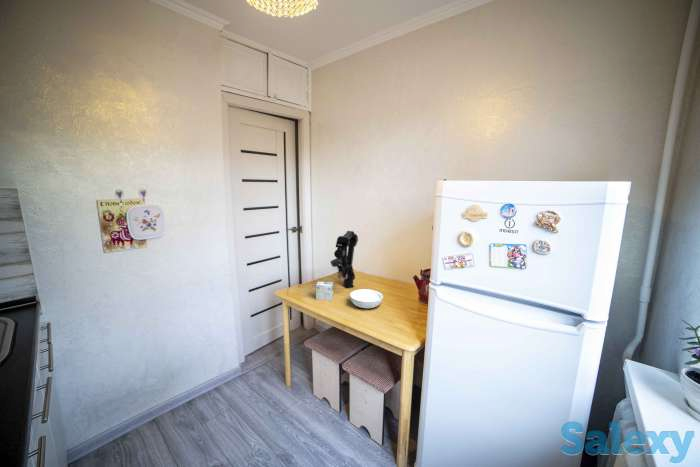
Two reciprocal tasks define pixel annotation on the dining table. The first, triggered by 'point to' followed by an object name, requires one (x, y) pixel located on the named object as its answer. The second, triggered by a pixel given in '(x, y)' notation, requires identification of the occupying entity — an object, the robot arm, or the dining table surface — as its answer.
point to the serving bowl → (366, 298)
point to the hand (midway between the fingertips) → (342, 276)
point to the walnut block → (341, 275)
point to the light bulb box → (324, 290)
